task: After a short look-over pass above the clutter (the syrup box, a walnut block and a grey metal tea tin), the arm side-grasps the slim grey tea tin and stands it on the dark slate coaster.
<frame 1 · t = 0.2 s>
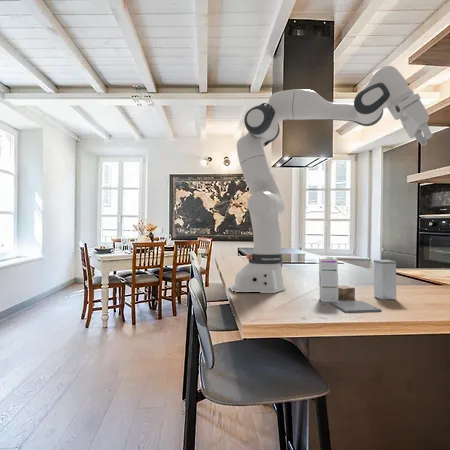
hand: (427, 141, 108), 54 cm above the table, tool tilted 30°, fingers open, 8 cm apart
walnut block: (344, 298, 114), on the table
slate coaster: (354, 307, 100), on the table
syrup box: (328, 301, 110), on the table
tea tin: (385, 298, 113), on the table
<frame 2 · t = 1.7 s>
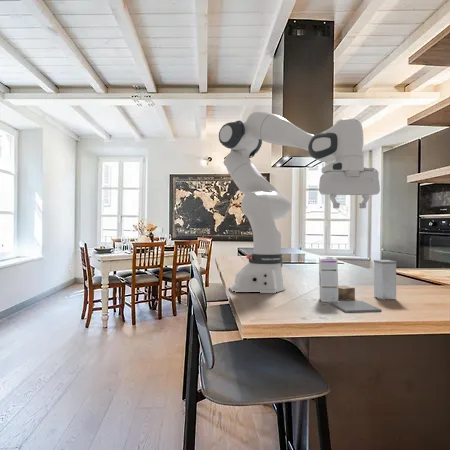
hand: (349, 208, 109), 31 cm above the table, tool pointing down, fingers open, 8 cm apart
nothing on the table moved.
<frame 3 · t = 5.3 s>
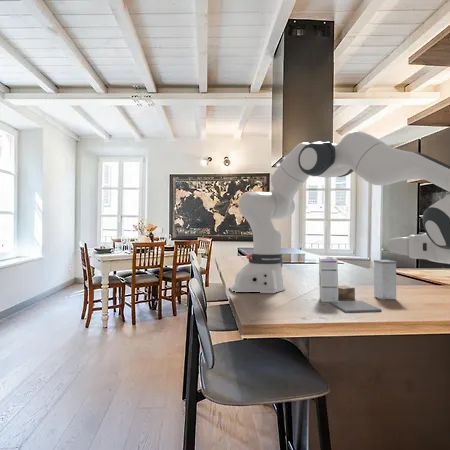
hand: (407, 243, 101), 20 cm above the table, tool horizontal, fingers open, 8 cm apart
nothing on the table moved.
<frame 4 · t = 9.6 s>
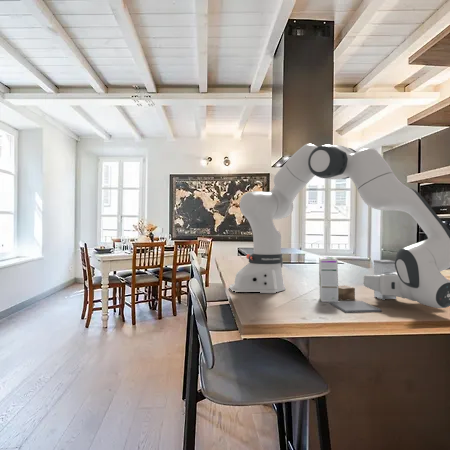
hand: (382, 277, 114), 7 cm above the table, tool horizontal, fingers closed on tea tin, 5 cm apart
tea tin: (385, 298, 113), on the table, touching gripper
everything else where it was.
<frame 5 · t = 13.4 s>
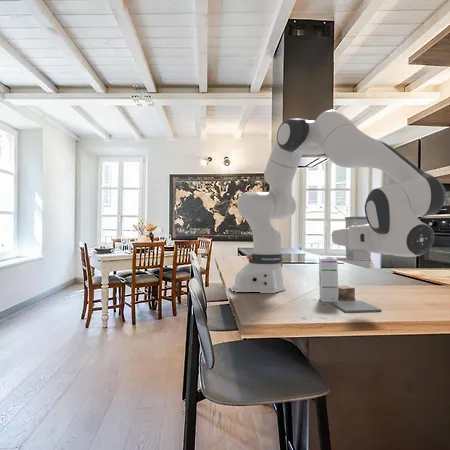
hand: (354, 236, 102), 22 cm above the table, tool horizontal, fingers closed on tea tin, 5 cm apart
tea tin: (357, 258, 101), point 15 cm above the table, touching gripper
everything else where it was.
when the fingers open (9 cm above the table, at t = 17.1 s): tea tin drops 1 cm, resting on slate coaster.
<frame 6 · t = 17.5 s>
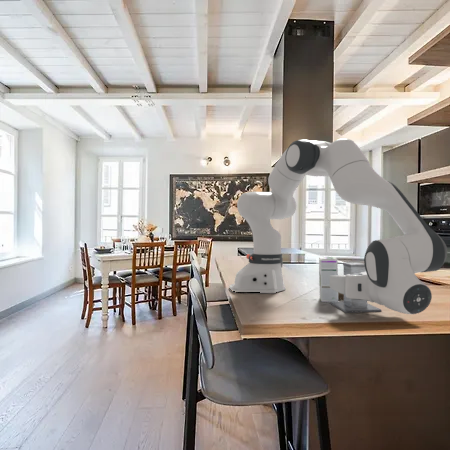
hand: (352, 278, 101), 9 cm above the table, tool horizontal, fingers open, 8 cm apart
tea tin: (355, 305, 100), point 1 cm above the table, touching slate coaster
everything else where it was.
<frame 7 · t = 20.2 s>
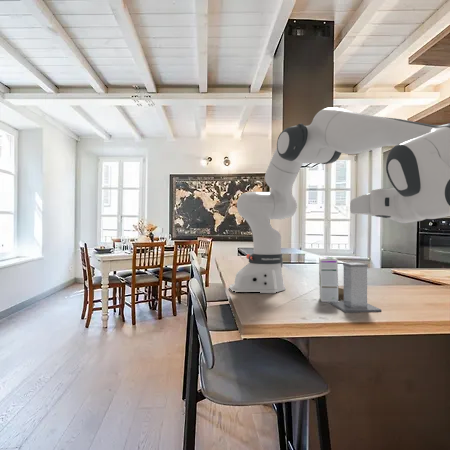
hand: (374, 211, 92), 29 cm above the table, tool horizontal, fingers open, 8 cm apart
nothing on the table moved.
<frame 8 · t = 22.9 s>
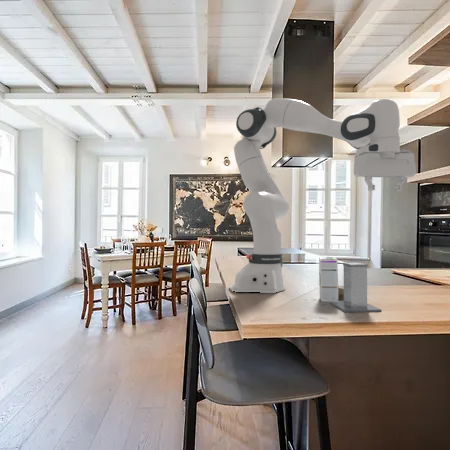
hand: (384, 190, 108), 37 cm above the table, tool pointing down, fingers open, 8 cm apart
nothing on the table moved.
at the end: tea tin inside the target area (0.5 cm from its centre), point 0.6 cm above the table; tea tin tilted 0°; the gripper is holding nothing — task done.
